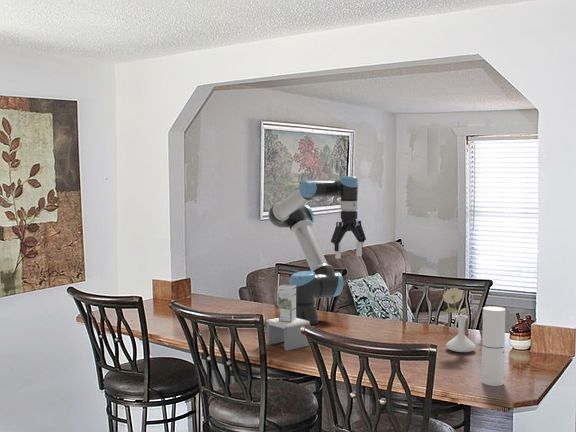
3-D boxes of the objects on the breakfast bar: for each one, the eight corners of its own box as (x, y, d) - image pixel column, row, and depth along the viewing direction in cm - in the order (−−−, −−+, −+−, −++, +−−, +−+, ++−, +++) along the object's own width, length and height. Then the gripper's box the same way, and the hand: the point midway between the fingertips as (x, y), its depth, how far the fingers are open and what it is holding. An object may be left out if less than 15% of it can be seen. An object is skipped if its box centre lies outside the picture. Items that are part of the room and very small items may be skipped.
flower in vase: (476, 348, 266) (477, 286, 264) (475, 355, 255) (477, 291, 253) (442, 345, 269) (443, 284, 268) (440, 353, 259) (441, 289, 257)
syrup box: (296, 319, 271) (296, 284, 270) (291, 322, 266) (291, 286, 265) (283, 318, 273) (283, 283, 272) (278, 321, 268) (278, 285, 267)
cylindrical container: (476, 381, 224) (478, 307, 222) (491, 377, 227) (493, 305, 226) (493, 387, 217) (495, 311, 216) (508, 383, 221) (510, 309, 220)
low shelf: (266, 344, 271) (266, 319, 271) (288, 339, 279) (288, 315, 278) (287, 350, 262) (287, 325, 261) (309, 345, 269) (309, 321, 269)
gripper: (335, 211, 288) (334, 260, 290) (373, 209, 305) (373, 255, 306) (323, 211, 294) (322, 258, 296) (361, 209, 310) (361, 254, 312)
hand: (348, 257), depth 301 cm, fingers open, 13 cm apart
